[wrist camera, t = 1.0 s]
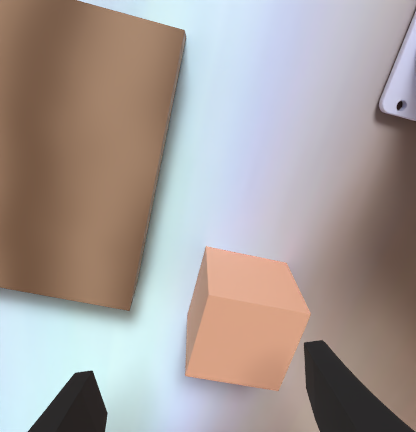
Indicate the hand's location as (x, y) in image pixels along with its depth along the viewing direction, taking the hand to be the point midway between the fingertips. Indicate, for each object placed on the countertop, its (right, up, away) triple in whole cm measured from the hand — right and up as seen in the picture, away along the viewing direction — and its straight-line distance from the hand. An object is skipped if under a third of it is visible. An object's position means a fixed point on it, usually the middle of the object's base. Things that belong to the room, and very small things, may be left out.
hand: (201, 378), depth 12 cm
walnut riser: (-7, +9, +7) cm, 13 cm away
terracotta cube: (+2, +1, +10) cm, 10 cm away
